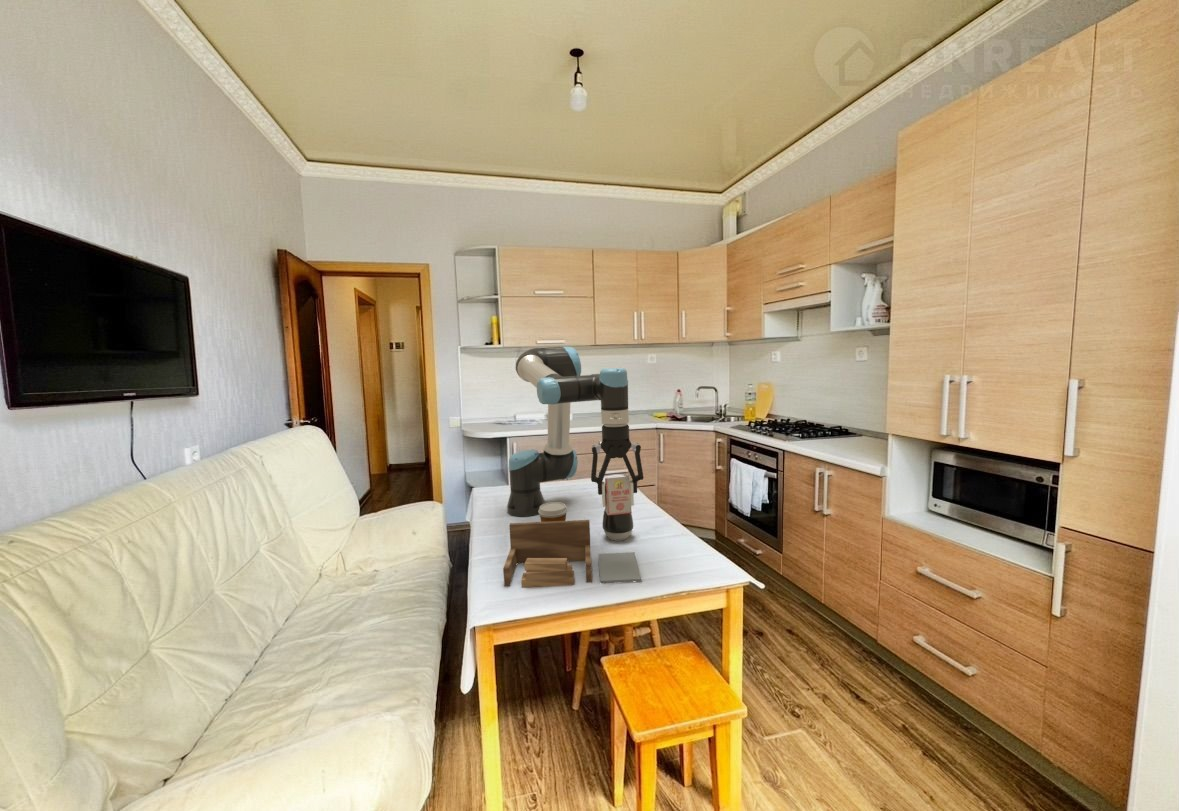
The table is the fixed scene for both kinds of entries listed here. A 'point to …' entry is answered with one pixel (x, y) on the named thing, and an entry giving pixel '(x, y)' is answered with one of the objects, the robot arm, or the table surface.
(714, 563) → the table surface
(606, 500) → the tea bag
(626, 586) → the table surface
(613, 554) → the mat
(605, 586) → the table surface
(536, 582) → the offcut stack
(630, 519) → the pump dispenser
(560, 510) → the disposable coffee cup
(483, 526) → the table surface
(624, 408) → the robot arm
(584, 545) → the bench
